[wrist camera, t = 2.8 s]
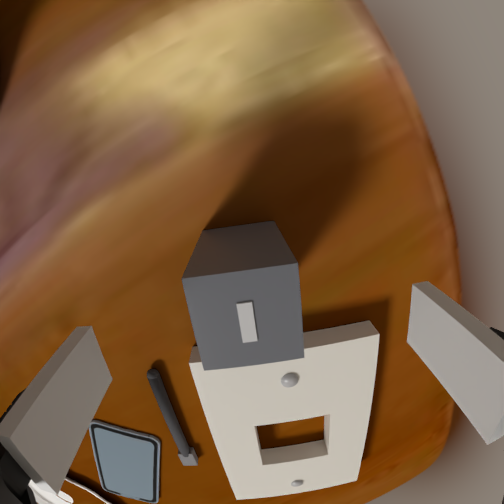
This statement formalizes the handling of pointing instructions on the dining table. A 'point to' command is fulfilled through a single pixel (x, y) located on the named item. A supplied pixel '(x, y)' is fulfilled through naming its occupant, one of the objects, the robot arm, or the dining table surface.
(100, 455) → the smartphone
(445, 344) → the robot arm
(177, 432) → the cable
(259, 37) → the dining table surface
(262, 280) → the block
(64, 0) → the dining table surface
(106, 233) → the dining table surface
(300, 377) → the outlet plate
